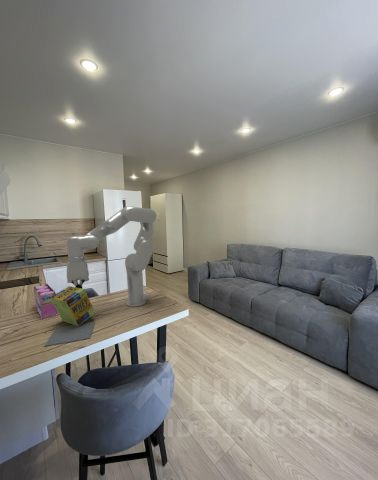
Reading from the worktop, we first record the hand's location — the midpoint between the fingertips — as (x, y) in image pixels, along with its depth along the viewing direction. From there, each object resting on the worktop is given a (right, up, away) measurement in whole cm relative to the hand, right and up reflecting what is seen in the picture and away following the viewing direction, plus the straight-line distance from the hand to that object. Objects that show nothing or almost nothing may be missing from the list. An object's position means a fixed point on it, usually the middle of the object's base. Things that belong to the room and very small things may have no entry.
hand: (79, 292), depth 116 cm
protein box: (+2, -13, -3) cm, 13 cm away
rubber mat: (+5, -16, -15) cm, 23 cm away
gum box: (-26, -14, +11) cm, 31 cm away
